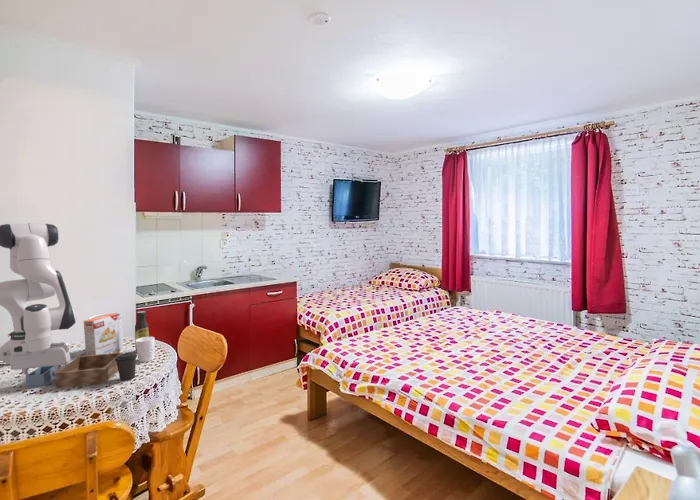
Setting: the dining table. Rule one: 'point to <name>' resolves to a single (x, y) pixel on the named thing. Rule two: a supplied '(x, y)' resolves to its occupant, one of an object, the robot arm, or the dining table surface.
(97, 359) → the big crate
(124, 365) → the coffee cup
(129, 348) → the dining table surface
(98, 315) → the white container
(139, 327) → the sauce bottle
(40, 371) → the small crate
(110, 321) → the cracker box
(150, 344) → the white cup
